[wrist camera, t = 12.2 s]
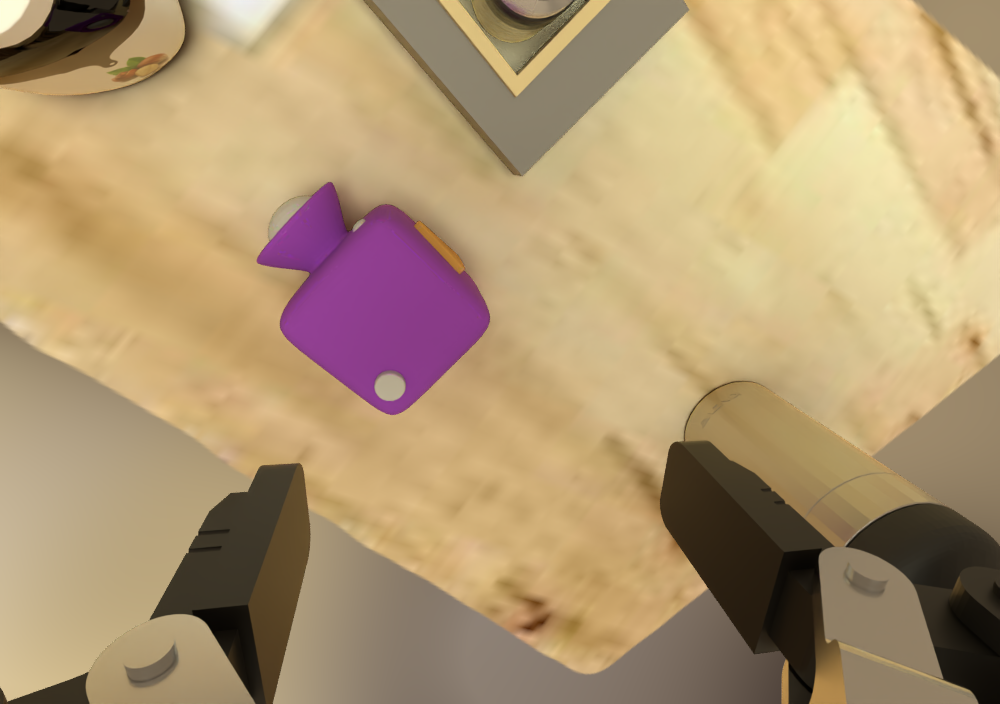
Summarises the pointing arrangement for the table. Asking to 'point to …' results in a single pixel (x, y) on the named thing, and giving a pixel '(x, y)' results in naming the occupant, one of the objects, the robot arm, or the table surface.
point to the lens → (517, 16)
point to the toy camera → (374, 298)
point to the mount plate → (527, 66)
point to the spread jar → (85, 43)
